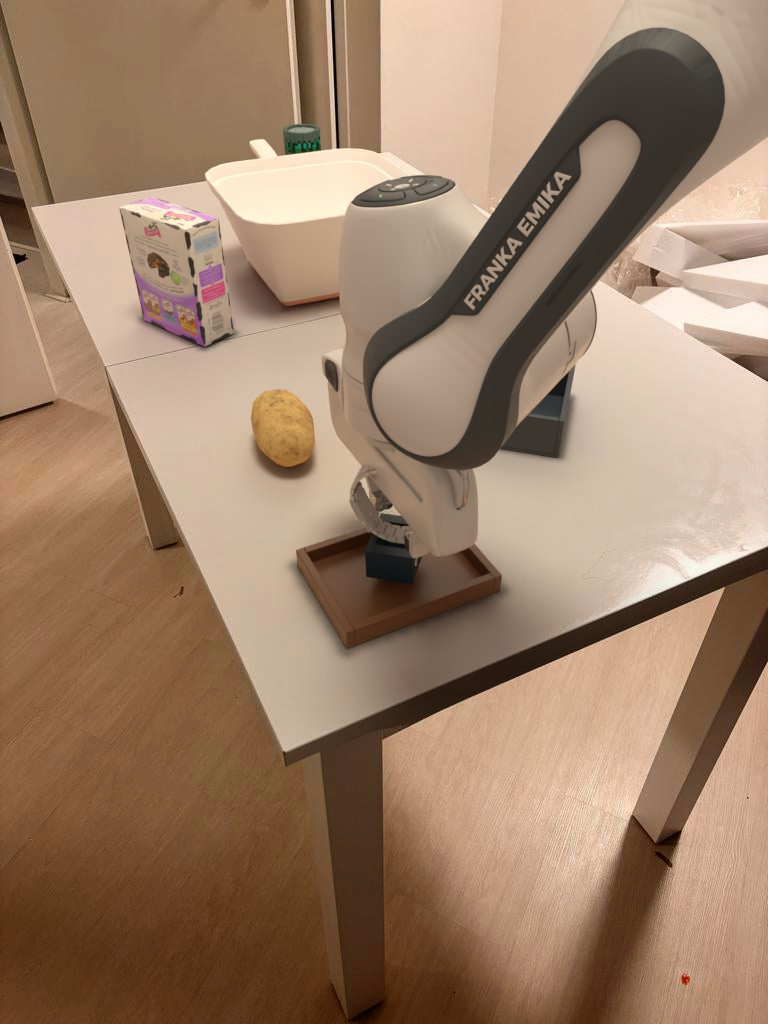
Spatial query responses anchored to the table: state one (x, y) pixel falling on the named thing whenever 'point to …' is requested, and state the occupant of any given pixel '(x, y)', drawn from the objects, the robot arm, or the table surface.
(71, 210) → the table surface
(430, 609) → the tray
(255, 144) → the pot
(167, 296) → the candy box
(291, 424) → the potato
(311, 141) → the can
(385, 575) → the watch
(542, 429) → the bin
